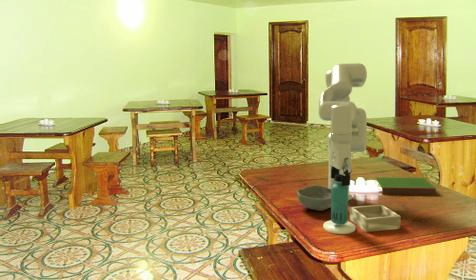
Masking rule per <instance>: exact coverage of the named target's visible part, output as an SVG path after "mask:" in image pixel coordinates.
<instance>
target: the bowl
mask: <svg viewBox="0 0 476 280" xmlns="http://www.w3.org/2000/svg"><path fill="white" fill-rule="evenodd" d="M331 195H332V189H330V188H328V186H322V185H315V184H314V185H310V186H306V187H302V188H299V189H298V190H297V193H296V196H297V200H298V202H299V203H300V204H301V206H302V207H304V208H306V209H308V210H309V209H310V210H314V211H319V212H323V211H326V210H329V208H330V209H331V201H332V200H331V199H332V198H331Z"/></svg>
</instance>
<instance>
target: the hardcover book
mask: <svg viewBox="0 0 476 280" xmlns="http://www.w3.org/2000/svg"><path fill="white" fill-rule="evenodd" d="M376 181H377V182H378V183H379V187H381V188H382V192H381V194H382V195H397V196H398V195H403V196H405V195H406V196H407V195H408V196H412V195H413V196H436V191H437V190H436V189H437V188H436V187H435V186H433V184H431V183H430V182H429V181H428V180H426V178H425V177H375V182H376Z"/></svg>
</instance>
